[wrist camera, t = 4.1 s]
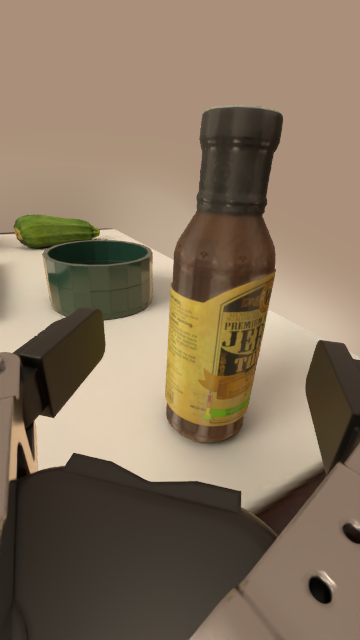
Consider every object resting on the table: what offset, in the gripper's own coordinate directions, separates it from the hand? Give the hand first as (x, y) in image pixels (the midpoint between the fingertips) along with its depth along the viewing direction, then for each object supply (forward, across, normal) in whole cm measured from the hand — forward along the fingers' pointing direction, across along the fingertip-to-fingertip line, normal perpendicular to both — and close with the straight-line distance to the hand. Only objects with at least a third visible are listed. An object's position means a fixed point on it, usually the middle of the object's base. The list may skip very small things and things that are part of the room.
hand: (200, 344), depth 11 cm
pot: (+27, +18, +11) cm, 35 cm away
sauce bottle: (+8, 0, +12) cm, 14 cm away
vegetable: (+56, +42, +12) cm, 71 cm away
